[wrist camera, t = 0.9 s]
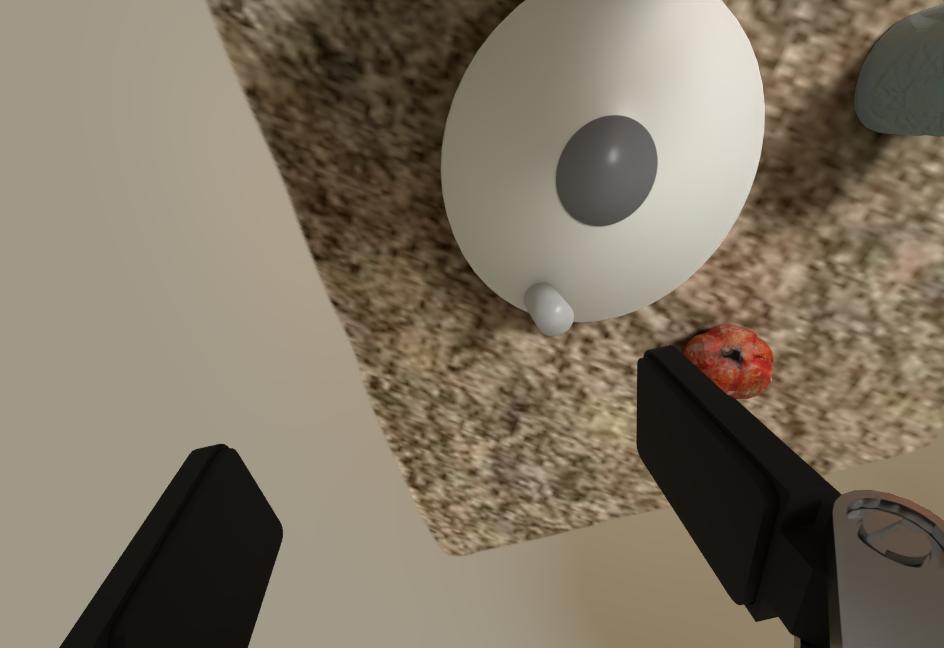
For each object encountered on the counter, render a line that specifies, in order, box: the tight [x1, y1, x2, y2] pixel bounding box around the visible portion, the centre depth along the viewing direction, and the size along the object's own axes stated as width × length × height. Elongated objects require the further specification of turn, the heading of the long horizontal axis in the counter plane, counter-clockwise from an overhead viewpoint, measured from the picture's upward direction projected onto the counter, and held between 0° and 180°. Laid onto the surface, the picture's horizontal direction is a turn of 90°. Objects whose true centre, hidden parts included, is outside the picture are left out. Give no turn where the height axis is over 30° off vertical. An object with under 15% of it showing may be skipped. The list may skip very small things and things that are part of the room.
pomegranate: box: [683, 325, 774, 399], centre depth 40 cm, size 7×7×10 cm
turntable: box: [440, 0, 765, 336], centre depth 30 cm, size 24×24×8 cm
